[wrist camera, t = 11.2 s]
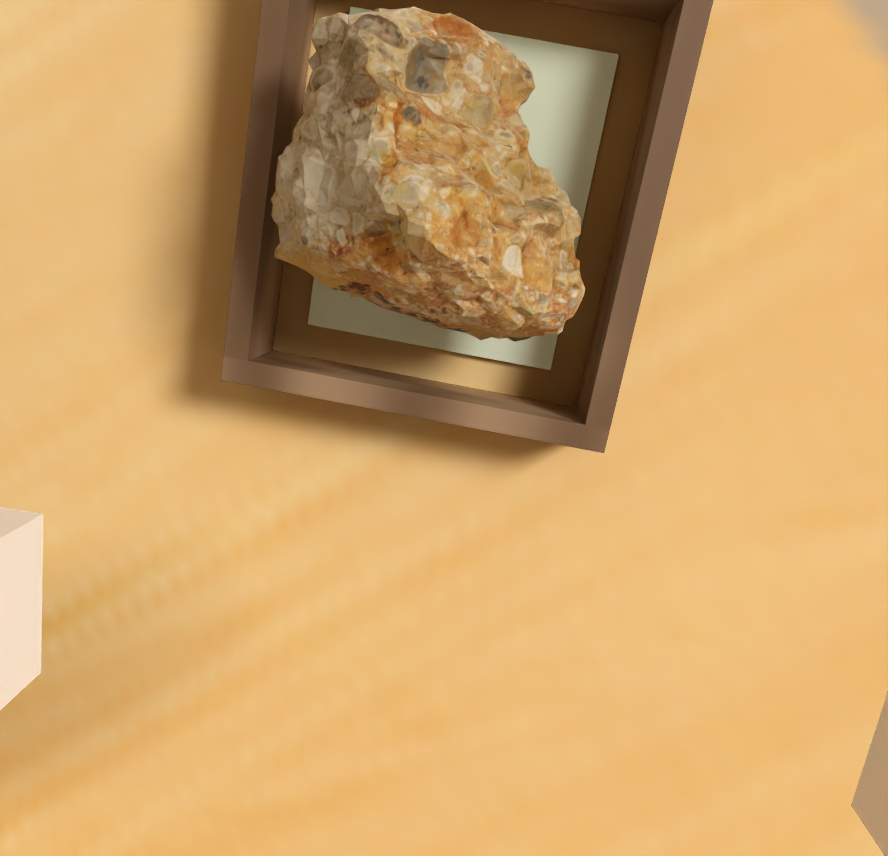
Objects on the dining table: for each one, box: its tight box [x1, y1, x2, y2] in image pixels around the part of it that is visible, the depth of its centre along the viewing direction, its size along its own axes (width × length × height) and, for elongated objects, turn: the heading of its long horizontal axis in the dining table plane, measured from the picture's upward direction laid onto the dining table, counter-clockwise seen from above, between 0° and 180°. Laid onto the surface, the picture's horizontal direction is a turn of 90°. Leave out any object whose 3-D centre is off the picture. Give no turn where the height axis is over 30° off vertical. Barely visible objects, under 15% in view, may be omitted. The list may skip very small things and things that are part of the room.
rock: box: [271, 7, 585, 342], centre depth 26 cm, size 12×10×10 cm
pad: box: [308, 6, 619, 370], centre depth 31 cm, size 11×13×1 cm
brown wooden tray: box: [221, 0, 713, 453], centre depth 29 cm, size 16×18×4 cm
